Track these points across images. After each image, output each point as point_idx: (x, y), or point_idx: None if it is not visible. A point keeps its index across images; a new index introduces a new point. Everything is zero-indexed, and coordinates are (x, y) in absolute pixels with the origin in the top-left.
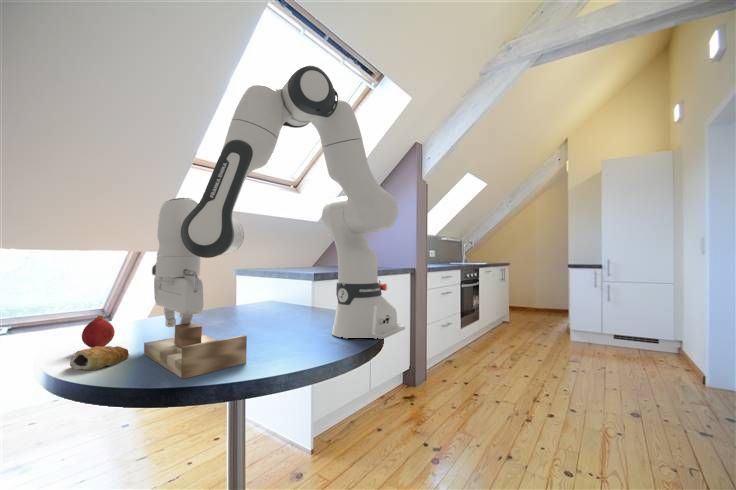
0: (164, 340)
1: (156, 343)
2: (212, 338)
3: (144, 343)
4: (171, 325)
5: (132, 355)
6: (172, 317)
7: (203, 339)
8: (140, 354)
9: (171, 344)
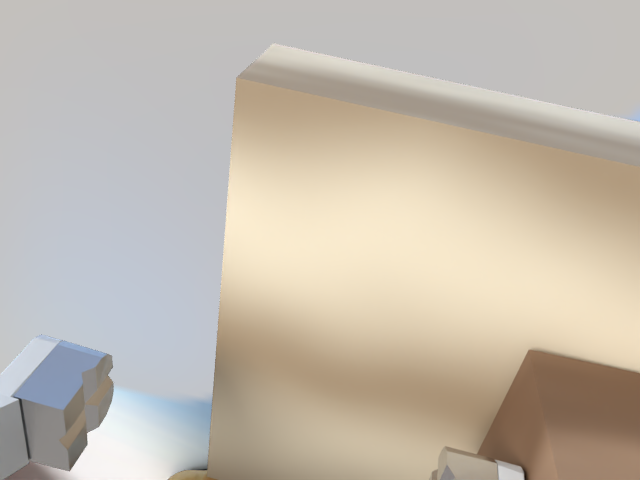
0: (252, 399)
1: (300, 466)
2: (630, 177)
3: (218, 476)
4: (100, 387)
5: (205, 439)
6: (2, 424)
7: (555, 251)
8: None
9: (438, 456)
